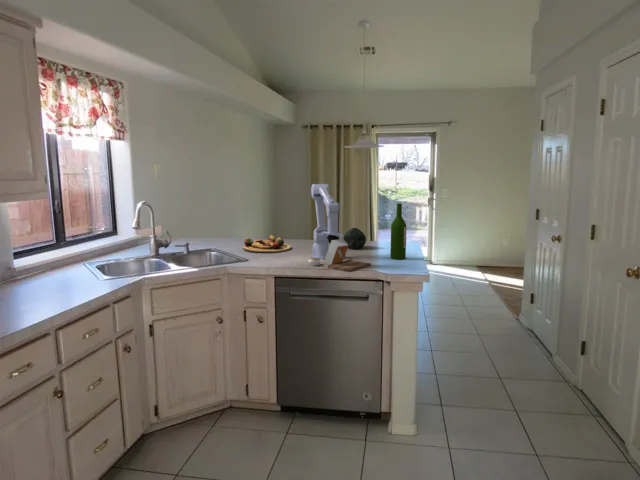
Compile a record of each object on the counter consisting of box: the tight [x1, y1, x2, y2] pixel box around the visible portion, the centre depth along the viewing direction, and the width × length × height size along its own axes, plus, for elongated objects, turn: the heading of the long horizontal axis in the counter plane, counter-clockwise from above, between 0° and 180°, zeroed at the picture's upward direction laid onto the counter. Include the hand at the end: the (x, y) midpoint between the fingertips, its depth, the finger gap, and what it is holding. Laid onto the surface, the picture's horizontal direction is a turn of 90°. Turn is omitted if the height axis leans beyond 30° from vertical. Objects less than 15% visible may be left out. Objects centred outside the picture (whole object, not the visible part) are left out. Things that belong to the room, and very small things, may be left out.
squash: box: [343, 227, 367, 250], centre depth 302 cm, size 14×15×15 cm
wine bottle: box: [389, 203, 407, 261], centre depth 267 cm, size 9×9×32 cm
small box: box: [324, 238, 349, 265], centre depth 250 cm, size 8×6×13 cm
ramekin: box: [307, 257, 321, 267], centre depth 251 cm, size 6×6×4 cm
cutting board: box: [327, 259, 372, 273], centre depth 247 cm, size 14×20×2 cm
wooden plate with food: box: [242, 234, 292, 254], centre depth 301 cm, size 32×32×8 cm
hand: (332, 248), depth 253 cm, fingers closed
